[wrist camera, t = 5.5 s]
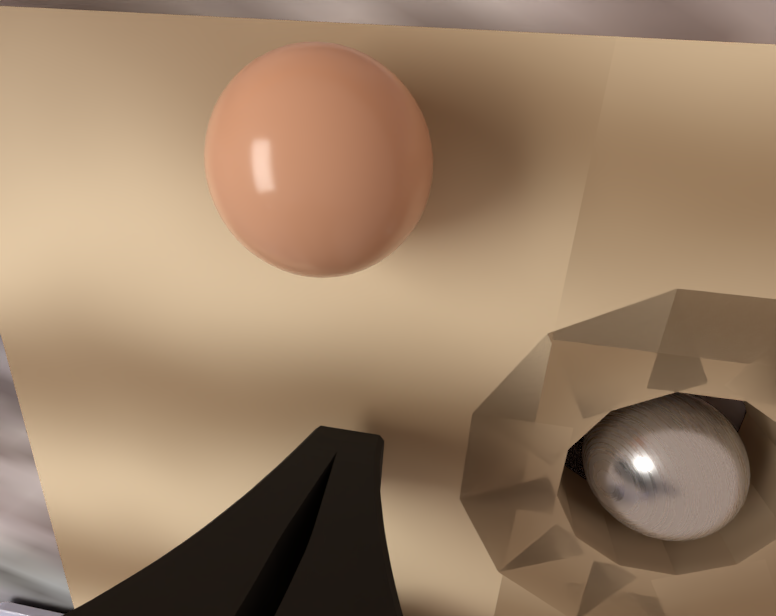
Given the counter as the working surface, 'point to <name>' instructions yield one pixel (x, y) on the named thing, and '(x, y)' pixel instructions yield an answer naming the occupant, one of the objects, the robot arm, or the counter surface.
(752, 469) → the board
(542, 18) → the counter surface
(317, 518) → the robot arm
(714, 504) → the steel ball
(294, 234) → the terracotta ball
